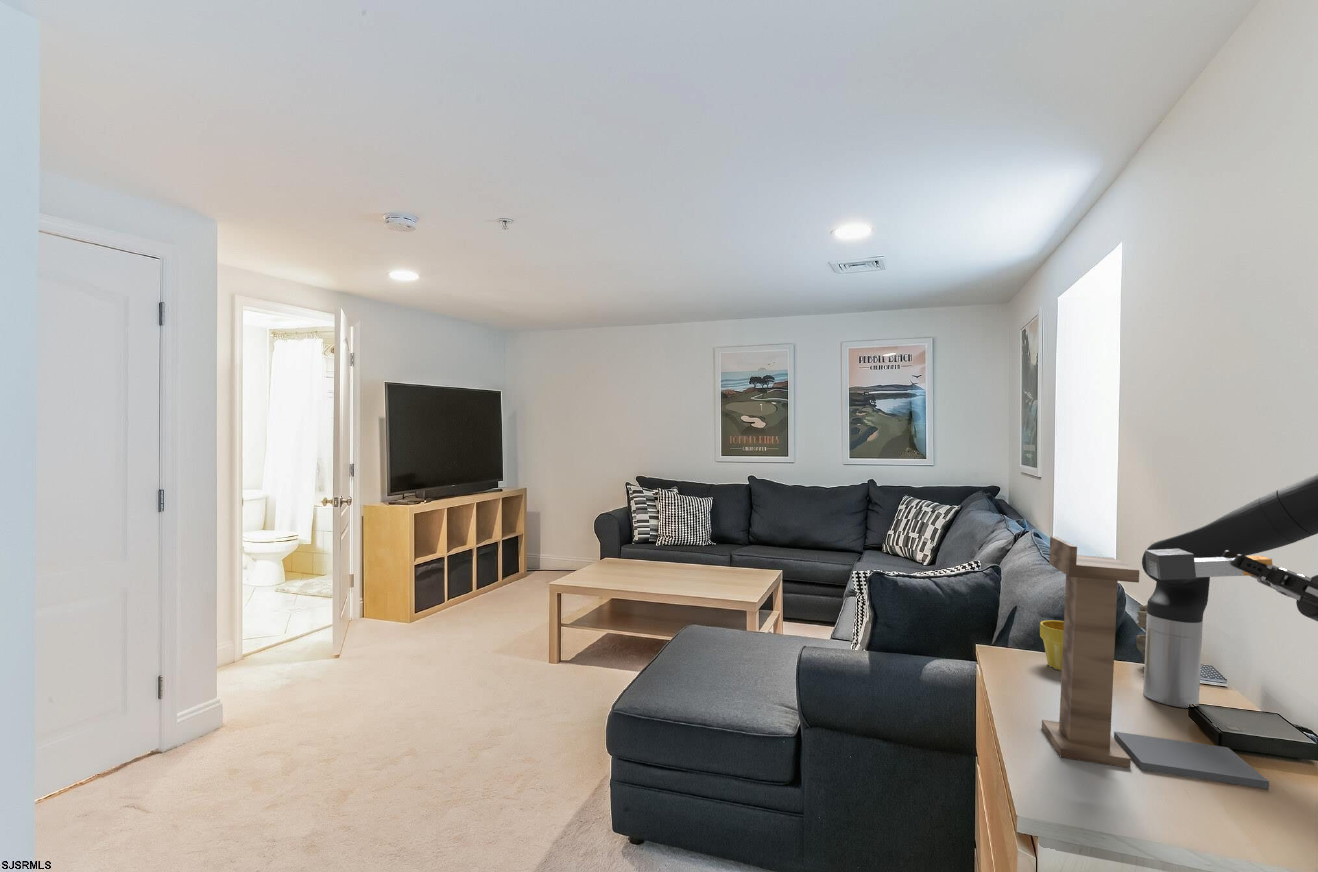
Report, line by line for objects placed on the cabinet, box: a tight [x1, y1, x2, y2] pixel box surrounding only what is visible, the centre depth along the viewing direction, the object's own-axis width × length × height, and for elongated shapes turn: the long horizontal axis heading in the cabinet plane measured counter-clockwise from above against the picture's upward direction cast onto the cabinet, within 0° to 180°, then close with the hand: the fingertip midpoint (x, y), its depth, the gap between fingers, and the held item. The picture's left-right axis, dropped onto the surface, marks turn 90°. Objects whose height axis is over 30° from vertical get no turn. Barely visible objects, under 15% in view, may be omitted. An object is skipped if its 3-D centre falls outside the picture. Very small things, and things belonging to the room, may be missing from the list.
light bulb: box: [1136, 604, 1147, 665], centre depth 161 cm, size 6×6×15 cm
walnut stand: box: [1041, 535, 1140, 769], centre depth 117 cm, size 12×10×35 cm
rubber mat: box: [1113, 731, 1270, 790], centre depth 113 cm, size 12×17×1 cm
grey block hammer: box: [1144, 549, 1273, 580], centre depth 112 cm, size 5×16×4 cm, turn 75°
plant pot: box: [1039, 619, 1064, 671], centre depth 159 cm, size 10×10×10 cm
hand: (1229, 557), depth 111 cm, fingers closed on grey block hammer, 3 cm apart
